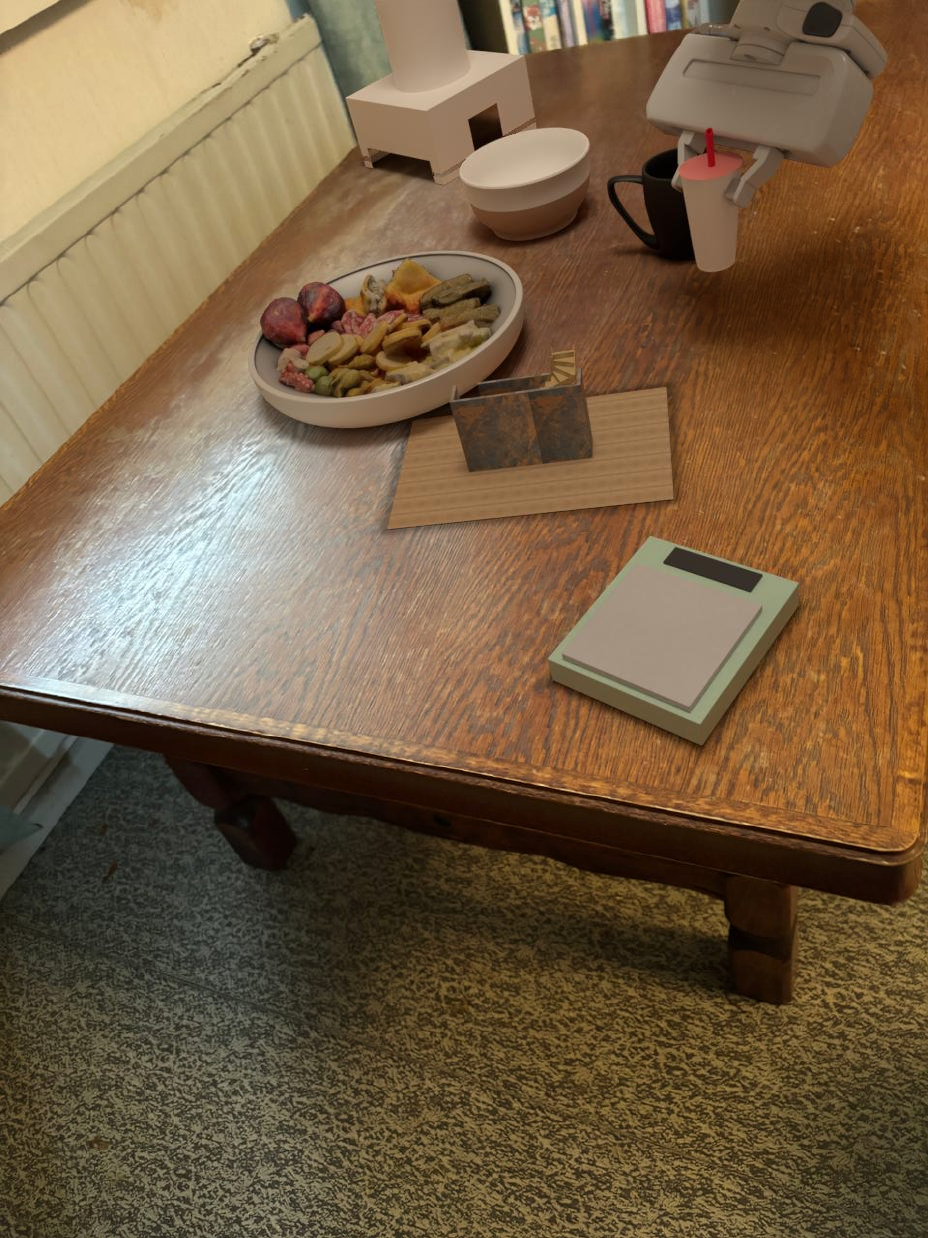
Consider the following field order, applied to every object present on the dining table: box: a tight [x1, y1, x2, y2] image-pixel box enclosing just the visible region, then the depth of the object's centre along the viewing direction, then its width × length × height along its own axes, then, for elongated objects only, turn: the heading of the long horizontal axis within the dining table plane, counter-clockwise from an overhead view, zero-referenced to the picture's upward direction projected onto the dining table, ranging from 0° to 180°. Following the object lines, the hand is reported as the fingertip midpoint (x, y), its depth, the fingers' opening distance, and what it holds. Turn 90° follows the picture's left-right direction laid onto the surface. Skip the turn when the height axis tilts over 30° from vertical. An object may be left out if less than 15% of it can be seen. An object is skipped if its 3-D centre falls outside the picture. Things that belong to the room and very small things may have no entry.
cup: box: [678, 128, 744, 273], centre depth 84 cm, size 5×5×12 cm
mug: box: [606, 146, 718, 261], centre depth 105 cm, size 8×12×10 cm
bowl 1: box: [247, 250, 526, 429], centre depth 102 cm, size 30×30×8 cm
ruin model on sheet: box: [386, 345, 675, 530], centre depth 85 cm, size 25×16×10 cm, turn 84°
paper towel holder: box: [345, 0, 538, 186], centre depth 135 cm, size 19×19×30 cm
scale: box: [547, 535, 800, 746], centre depth 68 cm, size 12×14×3 cm
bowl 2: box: [458, 127, 591, 242], centre depth 119 cm, size 16×16×8 cm
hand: (707, 197), depth 84 cm, fingers closed on cup, 5 cm apart
